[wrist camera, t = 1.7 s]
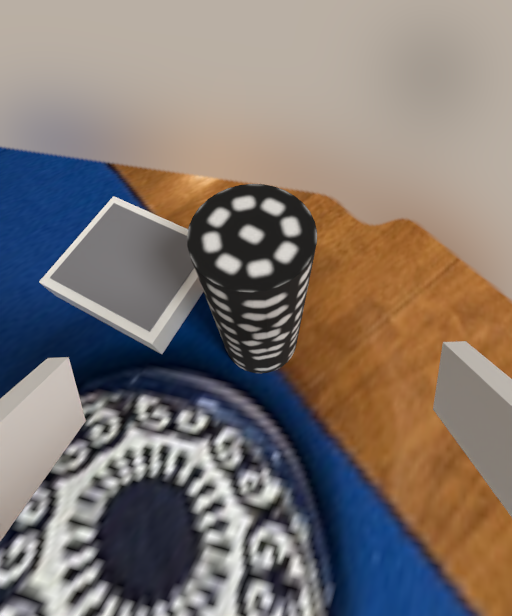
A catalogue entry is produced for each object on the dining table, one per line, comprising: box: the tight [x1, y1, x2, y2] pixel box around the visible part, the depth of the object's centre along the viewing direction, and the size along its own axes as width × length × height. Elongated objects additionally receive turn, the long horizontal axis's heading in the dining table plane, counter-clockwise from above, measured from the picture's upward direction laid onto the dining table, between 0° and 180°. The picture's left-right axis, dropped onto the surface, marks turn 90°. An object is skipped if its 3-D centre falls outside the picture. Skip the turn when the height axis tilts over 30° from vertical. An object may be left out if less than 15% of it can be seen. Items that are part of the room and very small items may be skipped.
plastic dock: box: [39, 196, 204, 354], centre depth 43 cm, size 16×14×4 cm
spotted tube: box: [187, 184, 317, 373], centre depth 32 cm, size 8×8×20 cm
